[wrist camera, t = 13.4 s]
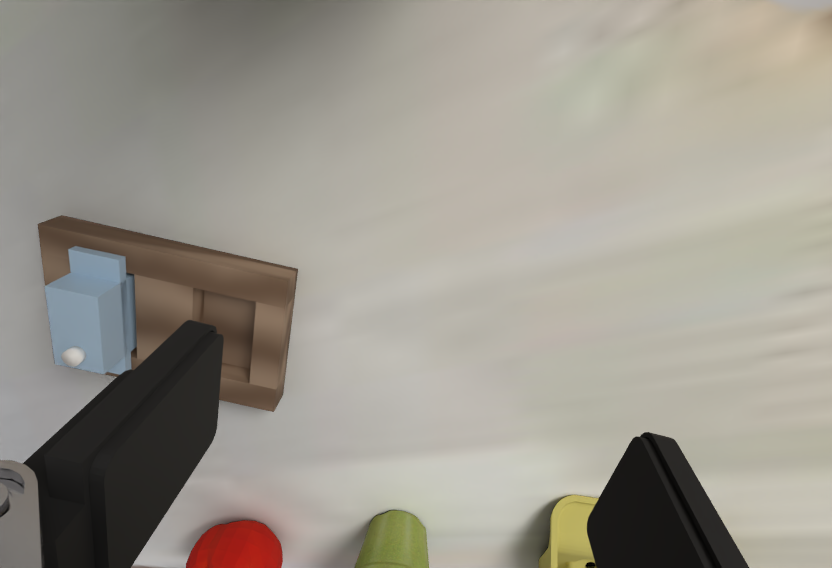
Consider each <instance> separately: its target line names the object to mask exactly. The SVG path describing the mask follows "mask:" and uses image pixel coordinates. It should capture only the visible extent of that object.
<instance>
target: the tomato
mask: <svg viewBox="0 0 832 568" xmlns="http://www.w3.org/2000/svg"><path fill="white" fill-rule="evenodd" d="M282 562H283V558H282V548H281V544H280V542H279V540H278V539H277V537H276V536H275V535H274V534H273V532H272V531H271V530H270V529H269V528H268V527H267V526H266V525H264V524H262V523H259V522H257V521H248V520H243V521H237V522H232V523H229V524H220V525H216V526H214V527H212V528H210V529H209V530H208V531H206V532H205V533H204V534H203V535H202V536H201V537H200V539H199V540H198V541H197V543H196V544H195V546H194V548H193V549H192V551H191V553H190V556H189V558H188V561H187V563H186V568H281V566H282Z"/></svg>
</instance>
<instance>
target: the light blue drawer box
mask: <svg viewBox="0 0 832 568" xmlns="http://www.w3.org/2000/svg"><path fill="white" fill-rule="evenodd" d="M68 252H69V261H70V271H71V273H69V274H67V275H65V276H63V277H61V278H59V279H57V280H55V281H53V282H52V283H50V284H48V285H46V286H45V293H46V301H47V308H48V316H49V323H50V331H51V338H52V346H53V354H54V361H55V364H57V365H62V366H66V367H71V368H76V369H81V370H86V371H90V372H95V373H100V374H105V373H106V372H110V373H115V374H119V375H120V374H122V373H123V372H124V371H127V370H130V369H131V370H132V368H131V351H132V350H133V349H134V348H136V347H137V336H136V307H135V277H134V274H130V273H126V258H125V256H120V255H116V254H111V253H106V252H102V251H97V250H92V249H87V248H83V247H78V246H75V247H72V248H70V249H68Z"/></svg>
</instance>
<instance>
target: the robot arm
mask: <svg viewBox="0 0 832 568" xmlns="http://www.w3.org/2000/svg"><path fill="white" fill-rule="evenodd" d="M223 343H224V337H223V335H222V334H218V333H217V329H216V327H215V326H213V325H209V324H205V323H201V322H197V321H193V320H187V321H186V322H184V323H183V324H182V325H181V326H180V327H179V328H178V329H177V330H176V331H175V332H174V333H173V334H172V335H171V336H170V337H168V338H167V339H166V340H165V341H164V342H163V343H162V344H161V345H160V346H159V347H158V348H157V349H156V350H155V351H154V352H153V353H152V354H150V355H149V356H148V357H147V358H146V359H145V360H144V361H143V362H142V363H141V364H140V365H139V366H138V367H137V368H136V369H135V370H131V369H130V370H127V371H124V372H123V373H122V374H120V375H119V376H118V377H117V378H116V379H114V380H113V381H112V382H111V383H110V384H109V385H108V386H107V387H106V388H105V389H104V390H102V391H101V392H100V393H99V394H98V395H97V396H96V397H95V398H94V399H93V400H92V401H91V402H89V403H88V404H87V405H86V406H85V407H84V408H83V409H82V410H81V411H80V412H79V413H77V414H76V415H75V416H74V417H73V418H72V419H71V420H70V421H69V422H68V423H67V424H65V425H64V426H63V427H62V428H61V429H60V430H59V431H58V432H57V433H56V434H55V435H53V436H52V437H51V438H50V439H49V440H48V441H47V442H46V443H45V444H44V445H43V446H41V447H40V448H39V449H38V450H37V451H36V452H35V453H34V454H33V455H32V456H31V457H29V458H28V459H27V460H26V461H25V462H24V463H23V464H22V463H18V462H15V461H8V460H0V568H131V566H132V565H133V563H134V562H135V560H136V558H137V557H138V555H139V554H140V552H141V551H142V549H143V548H144V546H145V545H146V543H147V542H148V540H149V538H150V537H151V535H152V534H153V532H154V531H155V529H156V528H157V526H158V525H159V523H160V522H161V520H162V518H163V517H164V515H165V514H166V512H167V511H168V509H169V508H170V506H171V505H172V503H173V502H174V500H175V498H176V497H177V495H178V494H179V492H180V491H181V489H182V488H183V486H184V485H185V483H186V482H187V480H188V478H189V477H190V475H191V474H192V472H193V471H194V469H195V468H196V466H197V465H198V463H199V462H200V460H201V459H202V457H203V455H204V454H205V452H206V451H207V449H208V448H209V446H210V445H211V443H212V441H213V439H214V436H215V433H216V430H217V420H218V407H219V394H220V381H221V369H222V356H223ZM587 535H588V539H589V542H590V546H591V549H592V553H593V557H594V560H595V564H596V568H749V567H748V565H747V563H746V561H745V560H744V558H743V556H742V554H741V553H740V551H739V549H738V548H737V546H736V544H735V542H734V541H733V539H732V537H731V535H730V534H729V532H728V530H727V529H726V527H725V525H724V523H723V522H722V520H721V518H720V516H719V515H718V513H717V511H716V510H715V508H714V506H713V504H712V503H711V501H710V499H709V497H708V496H707V494H706V492H705V491H704V489H703V487H702V485H701V484H700V482H699V480H698V478H697V477H696V475H695V473H694V472H693V470H692V468H691V466H690V465H689V463H688V461H687V460H686V458H685V456H684V454H683V453H682V451H681V449H680V447H679V446H678V444H677V443H676V441H675V440H674V439H672V438H669V437H665V436H661V435H657V434H653V433H649V432H646V433H643V434H642V435H641V436H640V437H635V438H633V440H632V441H631V443H630V444H629V446H628V448H627V450H626V451H625V453H624V455H623V457H622V458H621V460H620V462H619V464H618V466H617V467H616V469H615V471H614V473H613V474H612V476H611V478H610V480H609V481H608V483H607V485H606V487H605V489H604V490H603V492H602V494H601V496H600V497H599V499H598V501H597V503H596V504H595V506H594V508H593V510H592V512H591V513H590V515H589V517H588V521H587Z"/></svg>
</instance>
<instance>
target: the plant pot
mask: <svg viewBox="0 0 832 568" xmlns="http://www.w3.org/2000/svg"><path fill="white" fill-rule="evenodd" d="M355 568H429V562H428V550H427V537H426V529H425V527H424V526H423V525H422V524H421V522H420V521H419V519H418V518H417V517H416V516H414V515H412V514H410V513H407V512H404V511H397V510H392V511H388V512H387V513H385V514H382V515H377V516H376V517H374V518H373V520H372V521H371V523H370V526H369V529H368V531H367V534H366V537H365V540H364V543H363V546H362V548H361V551H360V554H359V557H358V559H357V562H356V565H355Z"/></svg>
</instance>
